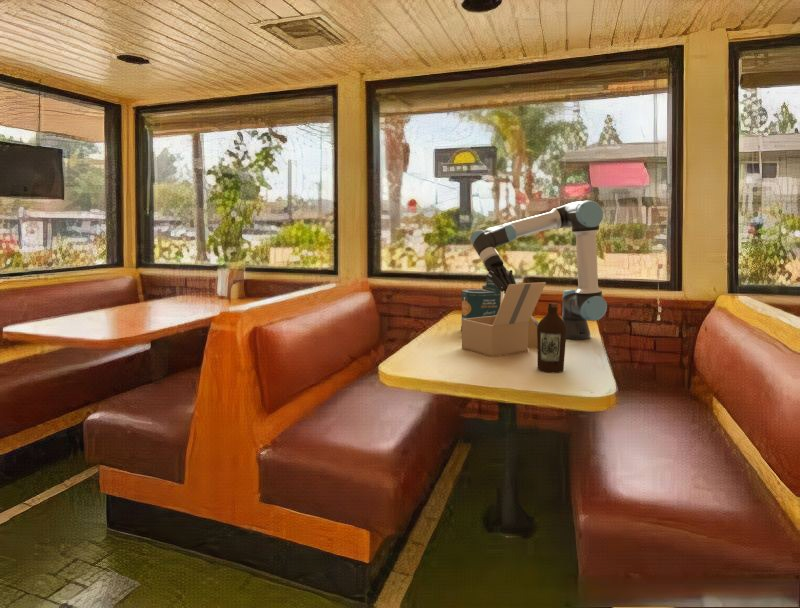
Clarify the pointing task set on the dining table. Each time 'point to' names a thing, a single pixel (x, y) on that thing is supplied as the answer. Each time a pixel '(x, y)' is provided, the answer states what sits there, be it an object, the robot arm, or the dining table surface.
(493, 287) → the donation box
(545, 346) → the olive oil
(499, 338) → the carton
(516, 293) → the lid flap
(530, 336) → the sandwich container
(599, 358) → the dining table surface
